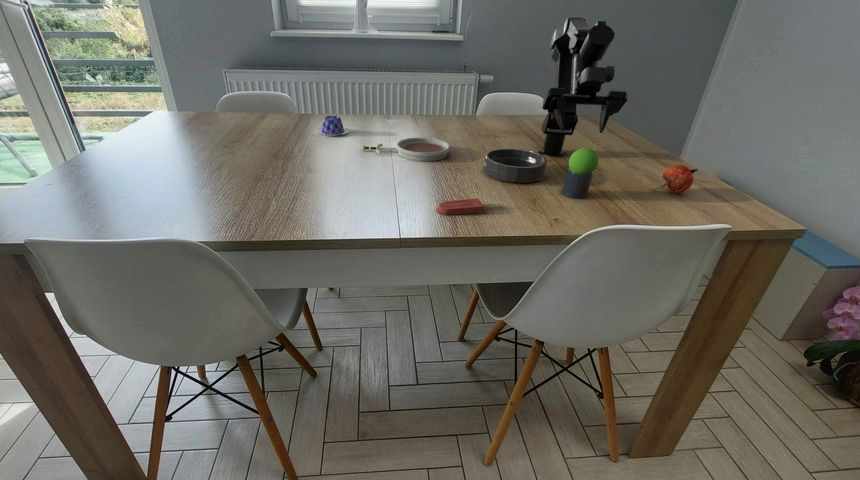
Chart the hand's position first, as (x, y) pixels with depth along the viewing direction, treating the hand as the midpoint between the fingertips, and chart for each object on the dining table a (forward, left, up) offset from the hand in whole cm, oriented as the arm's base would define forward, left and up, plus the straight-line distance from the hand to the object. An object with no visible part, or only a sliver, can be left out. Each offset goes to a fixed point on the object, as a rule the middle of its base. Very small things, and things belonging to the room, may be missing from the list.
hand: (582, 131), depth 101 cm
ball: (+7, +4, -5) cm, 9 cm away
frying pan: (+7, -48, -14) cm, 51 cm away
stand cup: (+7, +4, -13) cm, 16 cm away
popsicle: (+32, -12, -14) cm, 37 cm away
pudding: (+5, -81, -14) cm, 83 cm away
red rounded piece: (-10, +23, -14) cm, 28 cm away
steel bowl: (+3, -14, -13) cm, 20 cm away
